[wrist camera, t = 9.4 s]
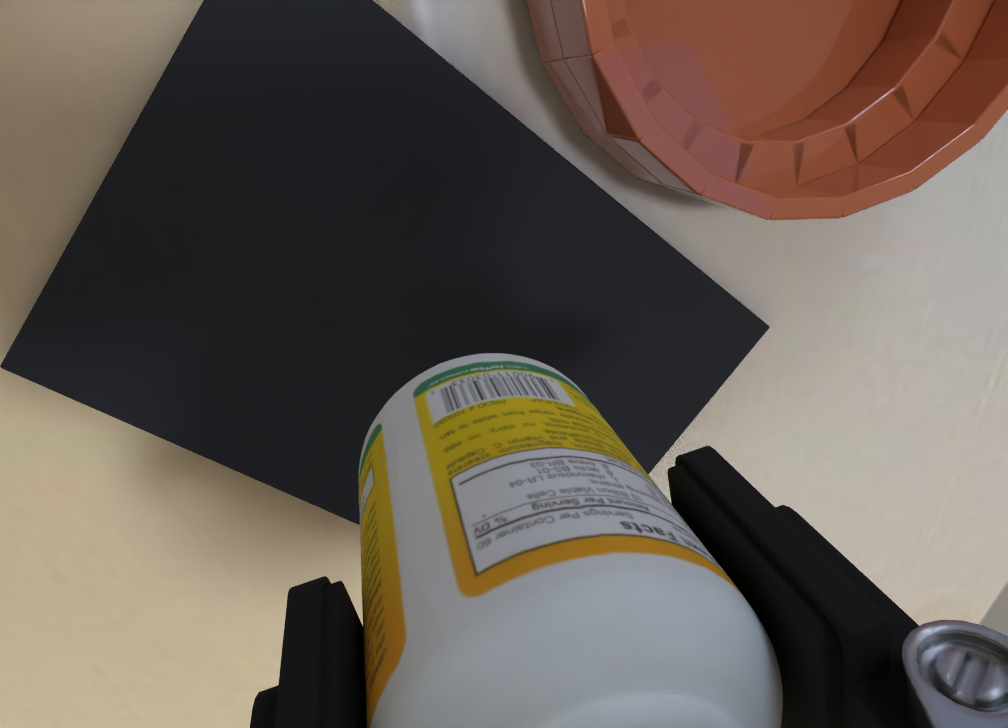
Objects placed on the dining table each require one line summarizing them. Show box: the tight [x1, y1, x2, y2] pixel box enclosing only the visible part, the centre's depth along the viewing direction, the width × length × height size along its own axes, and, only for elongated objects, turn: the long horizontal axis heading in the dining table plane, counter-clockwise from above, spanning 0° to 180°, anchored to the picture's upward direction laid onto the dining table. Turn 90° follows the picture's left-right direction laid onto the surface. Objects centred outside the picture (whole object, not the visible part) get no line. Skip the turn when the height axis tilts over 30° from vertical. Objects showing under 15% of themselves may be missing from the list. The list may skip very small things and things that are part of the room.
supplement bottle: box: [359, 353, 783, 728], centre depth 10 cm, size 5×5×10 cm
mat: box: [0, 0, 769, 525], centre depth 21 cm, size 20×14×1 cm
